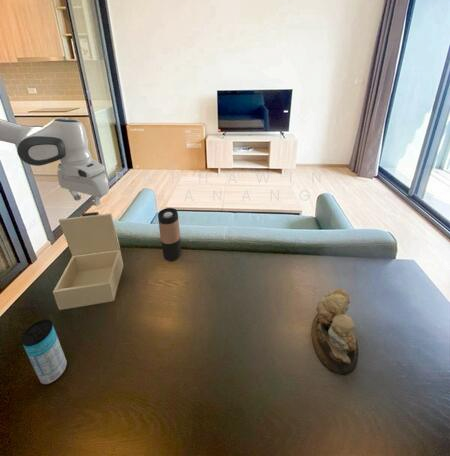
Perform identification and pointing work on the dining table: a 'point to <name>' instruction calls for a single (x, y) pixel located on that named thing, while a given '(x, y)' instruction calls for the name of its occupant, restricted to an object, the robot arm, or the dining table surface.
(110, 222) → the bin lid
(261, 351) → the dining table surface
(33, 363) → the supplement bottle
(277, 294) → the dining table surface
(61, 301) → the bin
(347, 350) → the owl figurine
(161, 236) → the travel mug
